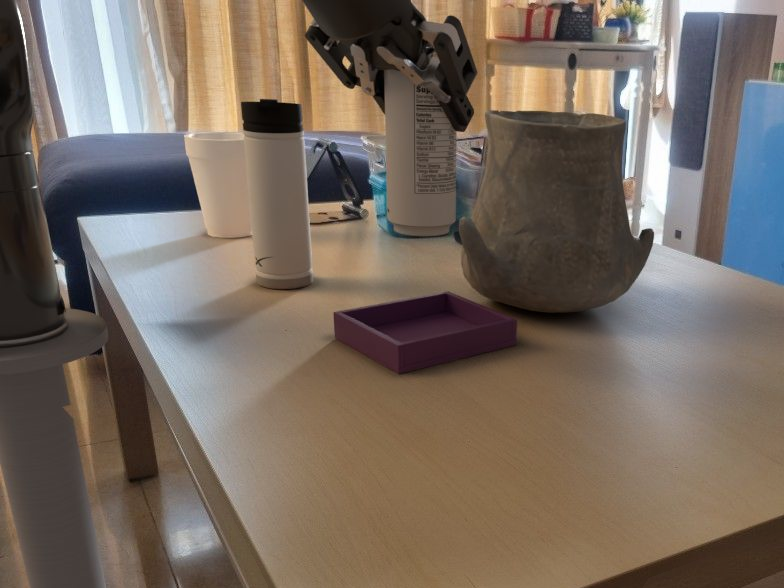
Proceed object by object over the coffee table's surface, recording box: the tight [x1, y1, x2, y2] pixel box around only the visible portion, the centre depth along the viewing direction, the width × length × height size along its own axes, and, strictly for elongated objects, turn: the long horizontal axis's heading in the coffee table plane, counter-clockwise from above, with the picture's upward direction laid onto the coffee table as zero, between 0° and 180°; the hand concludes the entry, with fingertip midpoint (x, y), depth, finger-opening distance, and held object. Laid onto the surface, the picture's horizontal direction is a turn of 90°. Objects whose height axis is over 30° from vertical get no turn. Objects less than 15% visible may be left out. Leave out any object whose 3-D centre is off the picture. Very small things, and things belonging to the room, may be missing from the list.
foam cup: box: [183, 131, 252, 239], centre depth 114 cm, size 10×9×13 cm
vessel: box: [458, 109, 655, 314], centre depth 90 cm, size 22×22×20 cm
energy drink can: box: [384, 50, 458, 237], centre depth 72 cm, size 6×6×15 cm
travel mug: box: [240, 98, 314, 290], centre depth 92 cm, size 6×7×20 cm
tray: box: [332, 290, 518, 375], centre depth 79 cm, size 13×11×3 cm
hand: (432, 120), depth 72 cm, fingers closed on energy drink can, 6 cm apart
